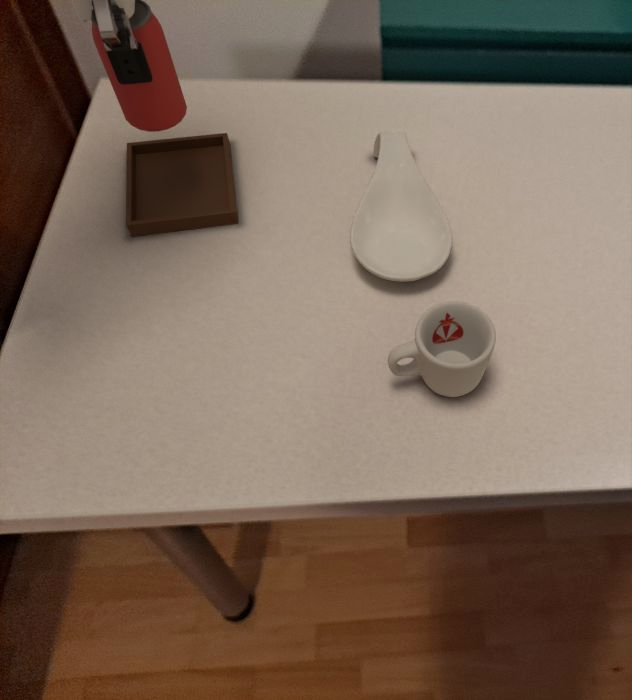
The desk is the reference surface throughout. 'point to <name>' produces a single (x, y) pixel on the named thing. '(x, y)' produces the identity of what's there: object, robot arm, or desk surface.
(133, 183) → the tray
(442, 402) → the desk surface
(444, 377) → the cup
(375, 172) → the spoon rest
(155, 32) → the beer can
